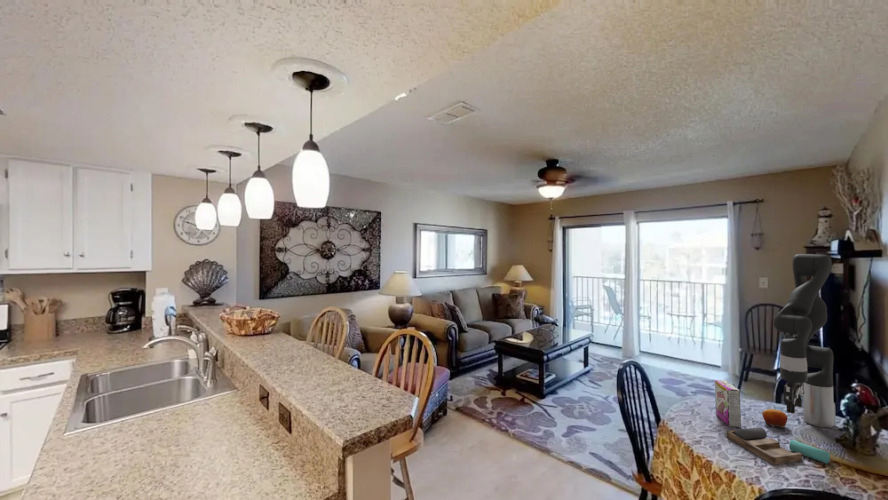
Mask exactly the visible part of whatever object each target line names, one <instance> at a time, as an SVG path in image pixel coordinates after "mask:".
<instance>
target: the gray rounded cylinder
mask: <svg viewBox="0 0 888 500" xmlns="http://www.w3.org/2000/svg"><path fill="white" fill-rule="evenodd" d="M735 430H736V431H735V434H736V435H737V436H739V437H740V438H742V439H744V440H753V439H763V438H765V439H767V437H768V433H767V431H766V430H765V429H764V428H763V427H762V426H761V427H760V426H757V427H750V428H749V427H748V428H741V429H735Z"/></svg>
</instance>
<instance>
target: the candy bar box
mask: <svg viewBox="0 0 888 500" xmlns="http://www.w3.org/2000/svg"><path fill="white" fill-rule="evenodd" d="M714 389H715V390H714V393H715V416H716V417H718V418H719V419H720V420H721V421H722V422H724V423H725V424H726V425H727V426H728V427H729V428H741V427H742V425H741V423H742V420H741V417H742V416H741V390H740V389H738V388H737V387H736V386H734V385H733V384H732V383H730V382H729V381H727V380H721V379H720V380H718V379H717V380H716V379H715V380H714Z"/></svg>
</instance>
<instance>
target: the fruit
mask: <svg viewBox="0 0 888 500" xmlns="http://www.w3.org/2000/svg"><path fill="white" fill-rule="evenodd" d="M762 418H763V421H764V422H765V423H766V425H769V426H771V427H772V428H773V427H778V428H782V429H783V430H786V429H785V428H784V427H785V426H786V425H787V423H788V416H787V414H786V413H785V412H784V411H781V410H779V409H775V408H769V409H765V410H763V411H762Z"/></svg>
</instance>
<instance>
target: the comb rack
mask: <svg viewBox="0 0 888 500" xmlns="http://www.w3.org/2000/svg"><path fill="white" fill-rule="evenodd" d="M736 430H737V429H734V430H727V431H726V438H728V439H729V440H731V441H733V442H734V443H736V444H737V445H739V446H741V447H743V448H744V449H746V450H748V451H749V452H751V453H753V454H755V455H756V456H758V457H760V458H761V459H763V460H764V461H767V462H768V463H770V464H771V465H779V464H780V465H781V464H787V463H796V462H803V455H802V454H801V453H800V452H799V453H797V452H793V451H791V450H788V449H787V448H784V447H783V446H781V442H780V441H778V440H776V439H774V438H773V437H772V438H763V439H753V440H744V439H742V438H740V437H739V436H737V435H736V434H735V431H736Z"/></svg>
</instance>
